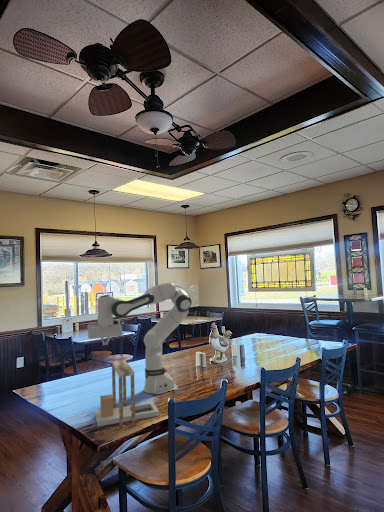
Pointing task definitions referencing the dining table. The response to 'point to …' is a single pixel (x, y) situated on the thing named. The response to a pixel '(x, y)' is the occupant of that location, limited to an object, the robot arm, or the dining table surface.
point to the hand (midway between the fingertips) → (105, 344)
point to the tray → (128, 414)
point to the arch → (123, 388)
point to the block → (106, 405)
